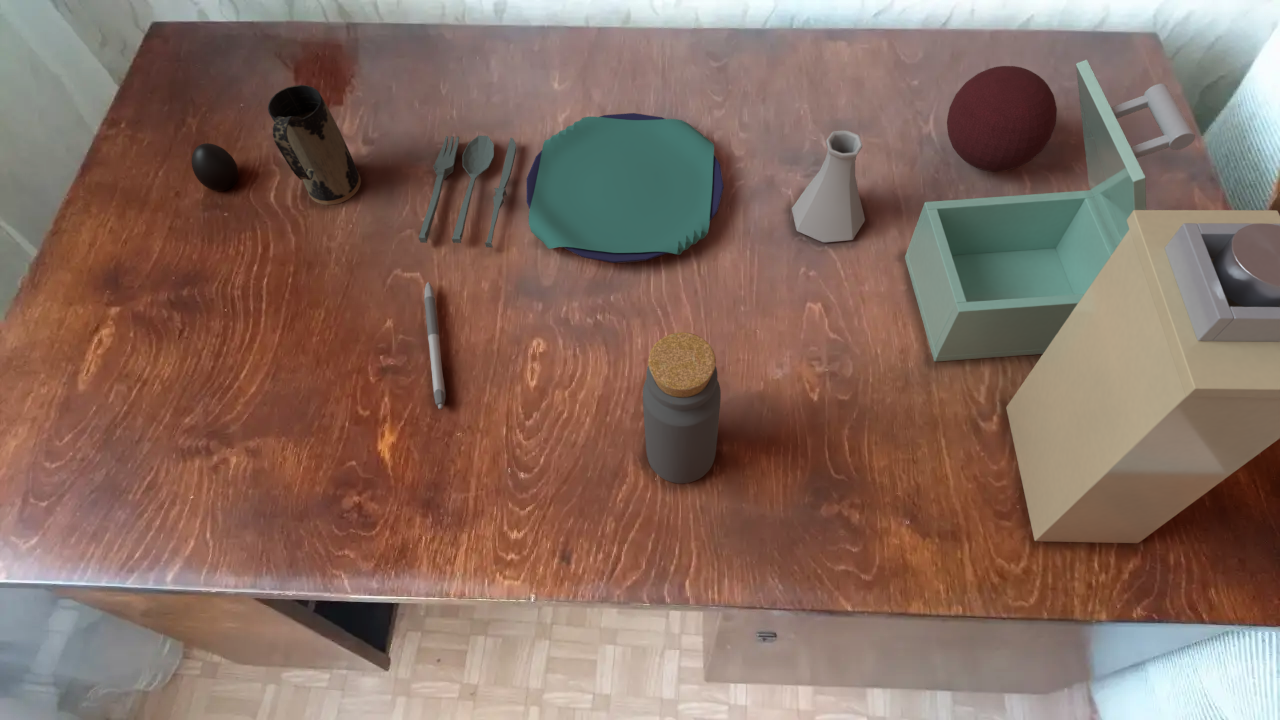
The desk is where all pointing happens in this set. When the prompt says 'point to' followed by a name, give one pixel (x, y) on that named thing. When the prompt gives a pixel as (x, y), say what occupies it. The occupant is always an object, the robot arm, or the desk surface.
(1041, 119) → the decorative ball
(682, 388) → the bottle
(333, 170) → the mug
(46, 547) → the desk surface
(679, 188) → the cutlery set
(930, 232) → the bowl box
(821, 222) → the flask
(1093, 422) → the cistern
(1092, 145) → the pale green box lid
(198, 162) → the egg
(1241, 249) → the flush button
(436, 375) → the pen
